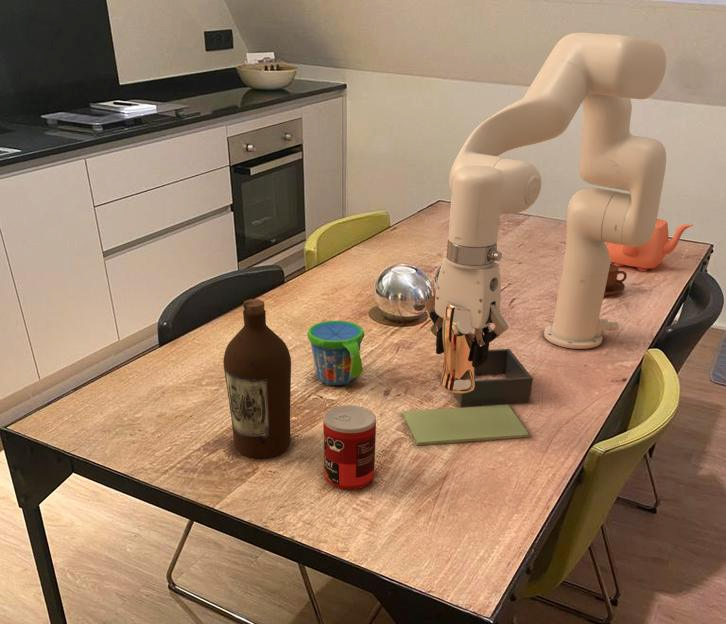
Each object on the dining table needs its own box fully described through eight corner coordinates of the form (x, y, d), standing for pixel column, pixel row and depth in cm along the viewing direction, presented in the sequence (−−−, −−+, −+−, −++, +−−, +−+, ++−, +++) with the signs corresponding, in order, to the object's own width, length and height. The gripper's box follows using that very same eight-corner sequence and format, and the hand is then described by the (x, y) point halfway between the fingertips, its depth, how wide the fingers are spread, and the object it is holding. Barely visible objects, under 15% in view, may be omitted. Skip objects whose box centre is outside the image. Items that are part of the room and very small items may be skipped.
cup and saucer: (605, 281, 201) (610, 257, 198) (632, 296, 192) (638, 272, 188) (566, 285, 198) (570, 261, 194) (591, 301, 188) (596, 276, 185)
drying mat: (507, 407, 142) (508, 404, 141) (528, 437, 133) (529, 434, 132) (403, 414, 138) (403, 411, 138) (416, 445, 130) (417, 442, 129)
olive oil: (249, 423, 134) (239, 286, 120) (304, 436, 131) (300, 296, 117) (219, 453, 126) (204, 309, 112) (276, 466, 123) (268, 320, 109)
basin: (506, 371, 154) (509, 348, 151) (529, 402, 143) (533, 378, 141) (442, 375, 152) (444, 352, 149) (460, 407, 141) (463, 382, 138)
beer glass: (476, 396, 127) (486, 311, 119) (435, 392, 128) (442, 307, 120) (479, 378, 133) (489, 296, 125) (439, 374, 134) (446, 292, 126)
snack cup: (296, 367, 154) (294, 319, 148) (343, 358, 158) (343, 312, 152) (327, 400, 142) (327, 350, 136) (377, 390, 146) (379, 341, 140)
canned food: (322, 464, 124) (322, 405, 118) (371, 463, 124) (373, 404, 118) (325, 491, 118) (324, 430, 111) (376, 490, 118) (378, 428, 112)
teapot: (681, 273, 208) (695, 221, 200) (620, 276, 204) (632, 224, 196) (646, 252, 222) (658, 203, 215) (589, 255, 219) (598, 206, 211)
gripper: (532, 259, 115) (516, 367, 125) (441, 235, 125) (433, 337, 135) (505, 271, 111) (491, 381, 121) (412, 245, 120) (406, 349, 130)
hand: (460, 357), depth 128 cm, fingers closed on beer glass, 6 cm apart
